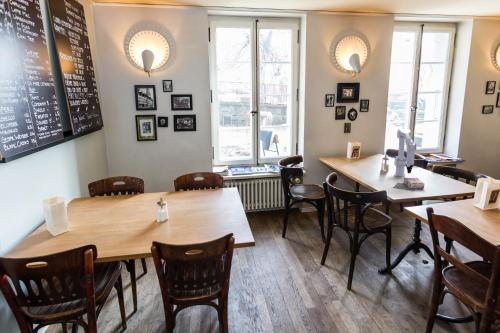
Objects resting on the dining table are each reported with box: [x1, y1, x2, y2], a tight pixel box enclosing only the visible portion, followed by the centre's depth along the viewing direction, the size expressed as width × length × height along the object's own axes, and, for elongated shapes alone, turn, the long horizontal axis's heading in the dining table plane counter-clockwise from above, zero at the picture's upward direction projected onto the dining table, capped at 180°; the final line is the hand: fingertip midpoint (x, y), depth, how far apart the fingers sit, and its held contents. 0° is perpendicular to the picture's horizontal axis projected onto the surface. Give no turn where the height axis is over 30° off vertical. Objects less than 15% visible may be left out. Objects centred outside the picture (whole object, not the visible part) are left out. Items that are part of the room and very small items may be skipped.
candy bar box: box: [402, 177, 425, 190], centre depth 266 cm, size 11×5×16 cm
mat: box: [392, 182, 416, 192], centre depth 267 cm, size 16×16×1 cm
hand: (409, 173), depth 273 cm, fingers closed
